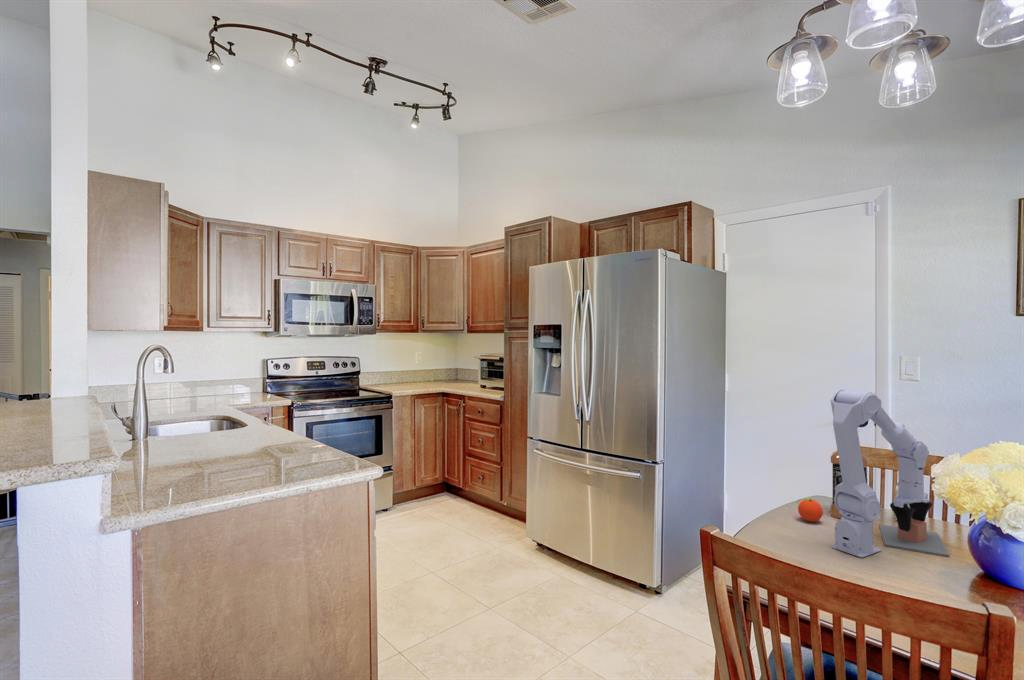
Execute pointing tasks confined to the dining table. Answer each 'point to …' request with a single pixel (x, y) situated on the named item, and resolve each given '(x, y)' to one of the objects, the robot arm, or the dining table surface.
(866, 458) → the whiskey bottle
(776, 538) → the dining table surface
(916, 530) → the brick cube
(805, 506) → the clementine
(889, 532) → the slate mat
